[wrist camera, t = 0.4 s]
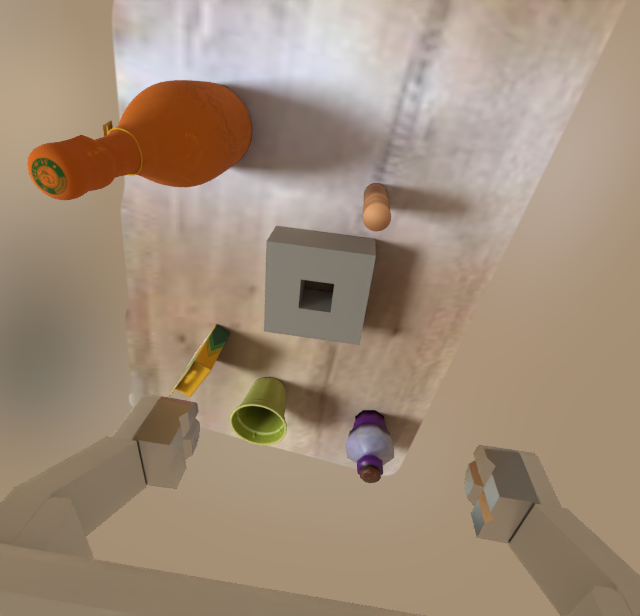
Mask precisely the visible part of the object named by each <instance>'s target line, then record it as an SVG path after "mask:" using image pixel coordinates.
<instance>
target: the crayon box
mask: <svg viewBox="0 0 640 616" xmlns="http://www.w3.org/2000/svg"><path fill="white" fill-rule="evenodd" d="M229 334H230V333H229V332H228V331H226V330H225V329H223V328H221V327H220V326H218V325H217V324H216V325H215V326H214V328H213V329H212V330H211V332H210V333H209V334H208V336H207V337H206V338H205V340H204V341H203V342H202V344H201V345H200V347H199V348H198V349H197V351H196V353H195V354H194V356H193V358H192V359H191V361H190V363H189V364H188V366H187V368H186V369H185V371H184V373H183V374H182V376H181V377H180V379H179V381H178V382H177V384H176V386H175V387H174V389H173V390H172V392H171V394H172V393H173V391H174V390H175V389H177V390H178V391H180V392H182V393H183V394H185V395H187V396H189V397H190V396H191V395H192V394H193V393H194V392H195V390H196V389H197V388H198V387H199V385H200V384H201V383H202V381H203V380H204V379H205V378H206V376H207V375H208V374H209V372H210V371H211V369H212V367H213V365H214V363H215V361H216V360H217V358H218V356H219V354H220V352H221V350H222V348H223V346H224V344H225V342H226V341H227V338H228V336H229ZM171 394H170V395H171ZM170 395H169V397H170Z"/></svg>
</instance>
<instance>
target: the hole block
mask: <svg viewBox="0 0 640 616" xmlns="http://www.w3.org/2000/svg"><path fill="white" fill-rule="evenodd" d="M375 259H376V245H375V239H371V238H363V237H356V236H348V235H341V234H333V233H325V232H318V231H310V230H303V229H295V228H287V227H280V226H276V227H275V229H274V230H273V232H272V234H271V235H270V237H269V238H268V240H267V248H266V284H265V320H264V331H265V332H272V333H279V334H286V335H293V336H300V337H307V338H314V339H321V340H328V341H335V342H342V343H349V344H356V345H359V344H360V339H361V334H362V328H363V323H364V317H365V312H366V307H367V301H368V296H369V291H370V285H371V280H372V275H373V269H374V264H375ZM305 280H309V281H316V282H323V283H331V284H334V290H333V292H327V291H320V290H313V289H306V288H305Z"/></svg>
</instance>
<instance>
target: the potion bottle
mask: <svg viewBox="0 0 640 616" xmlns="http://www.w3.org/2000/svg"><path fill="white" fill-rule="evenodd" d="M355 419H356V420H355V423H354V426H353V429H352V430H351V431H350V433H349V436H348V439H347V442H346V450H347V458H349V459H351V460H352V461H354V462H355V463H357V471H358V474H360V477H361V479H363V480H364V481H365V482H368V483H374V482H377V481H379V479H380V478H381V476H380V475H382V474H383V465H384V464H386V463H387V462H389V461H390V460H392V459H393V458H394V445H393V442H392V439H391V436H390V433H389V432H388V431H387V428H386V425H385V422H384V416H383V415H381V414H380V413H378V412H377V411H375V410H363V411H362V412H360V413H359V414H358V415H357V416H355Z"/></svg>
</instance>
